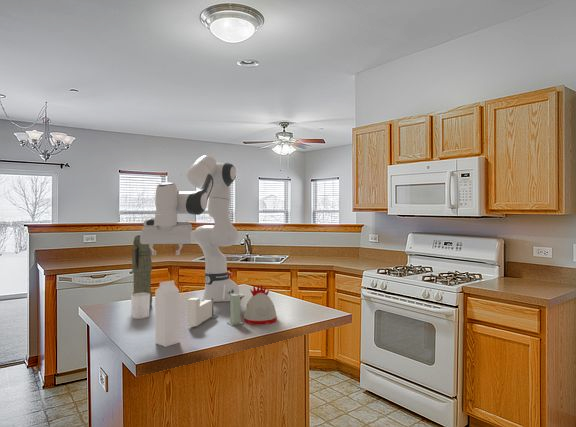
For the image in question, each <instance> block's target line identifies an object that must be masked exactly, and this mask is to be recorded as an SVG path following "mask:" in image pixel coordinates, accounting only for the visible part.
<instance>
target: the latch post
mask: <svg viewBox="0 0 576 427" xmlns="http://www.w3.org/2000/svg"><path fill="white" fill-rule="evenodd" d="M229 312H230V313H229V314H230V315H229V316H230V317H229V318H230V320H229V321H228V322H226V324H227V325H230V326H231V327H235V326H240V325H244V323H245V322H242V321H241V297H240V295H239V294H232V295H230V301H229Z"/></svg>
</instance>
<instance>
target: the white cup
mask: <svg viewBox="0 0 576 427" xmlns="http://www.w3.org/2000/svg"><path fill="white" fill-rule="evenodd" d="M130 296H131V297H130V298H131V310H132V318H133V319H137V320H138V319H139V320H141V319H146V318H149V317H150V309H151V308H150V307H149V306H150V293H135V294H133V293H132V294H131V295H130Z"/></svg>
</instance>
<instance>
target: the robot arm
mask: <svg viewBox="0 0 576 427" xmlns="http://www.w3.org/2000/svg"><path fill="white" fill-rule="evenodd" d="M236 172H237V171H236V167H235V166H234V164H233V163H229V162H217V161H216V159H215V158H214V157H213V156H211V155H206V154H205V155H202V156H200V157H199V158H197V159H196V160H195V161H194V162H193V163H192V164H191V165H190V167H188V170H187V174H186V177H187V180H188V182H189V183H190V184H191V185H192V186H193V187H195V188H197V189H198V190H195V191H180V190H178V188H177V184H176V183H174V182H162V183H158V185H157V186H156V189H155V196H154V197H155V198H154V200H155V201H154V202H155V203H154V204H155V208H156V209H155V212H154V218H153V217H152V218H149V219H147V220H144V221H143V222H142V223H143V224H142V225H143V227H142V228H141V230H140V243H141V244H149V248H150V249H151V255H152V256H156V255H157V250H155V249H154V248H153V247H154V245H178V247H179V248H178V249H177V250H175V256H180V255H181V254H180V253H181V250H182V248H183V245H189V244H191V242H192V234H191V232H192V231H193V226H192V223H190V222H189V221H178V215H195V216H199V215H201V214H203V213H204V212H205V211H206V209H207V214H208V216H210V218H212V219H213V221H214V225H213V224H210V225H209V224H207V225H205V224H204V225H201V226H198V227H196V228H195V229H194V231H193V239H194V242H195V244H197V245H198V246H199V247H200V249H201V250H202V252H203V256H204V263H205V272H204V283H205V284H204V291H203V296H202V301H204V300H208V299H209V298H213V303H216V302H230V295H232V294H239V295H240V298H243V297H244V296H245V295H244V293H241V292H240V288H239V285H238V284H237V283H236V282H235V281H233V280H232V279H231V278H230V277H233V275H234V273H233V271H229V272H228V268H227V267H228V266H227V264H228V263H227V262H228V261H227V257H226V255H225V254H224V253H223V252H221V250H220V248H219V247H230V246H235V245H236V244H237V242H238V240H239V232H238V230H237V228H236V227H235V226H234V225H233V224H232V221H231V219H230V200H231V190H230V189H231V188H230V186H231V185H232V183H233V182H234V181H235V180H236V175H237V174H236Z"/></svg>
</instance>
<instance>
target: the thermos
mask: <svg viewBox="0 0 576 427" xmlns="http://www.w3.org/2000/svg"><path fill="white" fill-rule="evenodd" d="M140 235H141V234H140ZM140 235H136V236H134V239H133V245H132V246H133V247H132V249H131V250H132V253H131V255H132V258H131V259H132V262H131V263H132V265H131V267H132V268H131V269H132V271H131V272H132V275H133V293H132V294H135V293H150V306H149V307H150V308H149V309H151V308H152V307H153V303H152V302H153V292H152V286H151V285H152V274H151V273H152V269H153V268H152V266H153V265H152V264H153V263H152V257H151V255H152V251H151V249H150V248H149V244H141V243H140Z"/></svg>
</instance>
